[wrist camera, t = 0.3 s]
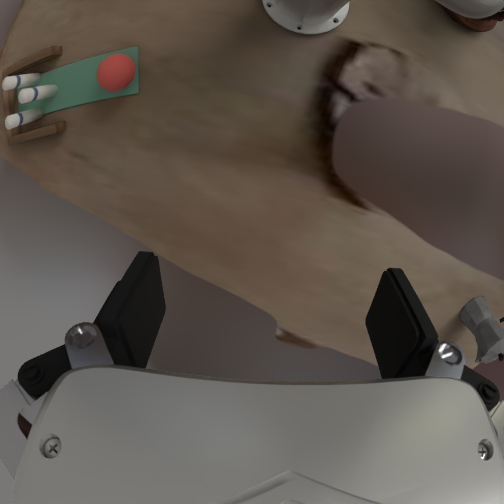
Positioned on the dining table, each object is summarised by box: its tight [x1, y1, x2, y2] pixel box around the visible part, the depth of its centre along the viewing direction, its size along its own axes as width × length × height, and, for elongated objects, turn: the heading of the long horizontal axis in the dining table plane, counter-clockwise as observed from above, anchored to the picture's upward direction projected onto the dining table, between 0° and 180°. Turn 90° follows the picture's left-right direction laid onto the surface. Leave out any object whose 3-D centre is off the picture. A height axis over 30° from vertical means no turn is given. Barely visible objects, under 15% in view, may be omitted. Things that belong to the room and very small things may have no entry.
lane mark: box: [17, 46, 139, 114], centre depth 36 cm, size 30×8×1 cm, turn 89°
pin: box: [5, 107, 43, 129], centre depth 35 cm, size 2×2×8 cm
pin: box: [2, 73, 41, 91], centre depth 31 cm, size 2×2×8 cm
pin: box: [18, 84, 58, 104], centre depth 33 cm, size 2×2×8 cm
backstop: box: [2, 46, 66, 146], centre depth 35 cm, size 16×14×3 cm
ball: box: [96, 53, 135, 91], centre depth 33 cm, size 6×6×6 cm
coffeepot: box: [460, 296, 504, 364], centre depth 51 cm, size 15×9×18 cm, turn 118°
